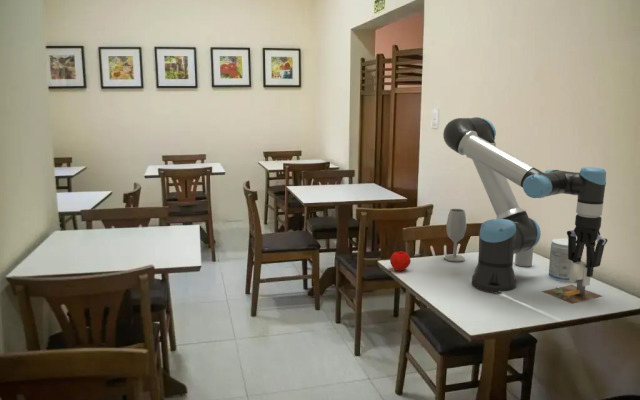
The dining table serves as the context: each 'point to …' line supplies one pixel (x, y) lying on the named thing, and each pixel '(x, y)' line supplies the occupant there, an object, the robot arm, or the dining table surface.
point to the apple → (400, 260)
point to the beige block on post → (578, 278)
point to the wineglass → (456, 231)
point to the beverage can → (524, 258)
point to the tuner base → (573, 298)
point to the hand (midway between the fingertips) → (581, 283)
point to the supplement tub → (560, 261)
